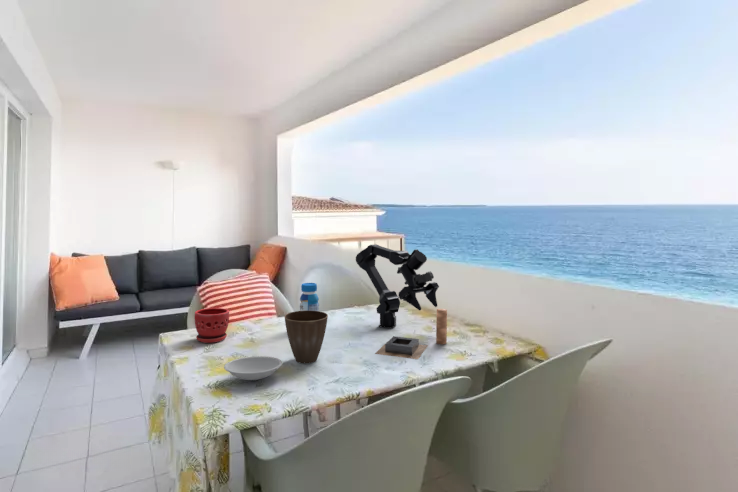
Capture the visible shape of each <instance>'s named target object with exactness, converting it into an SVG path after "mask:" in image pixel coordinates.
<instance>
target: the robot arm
mask: <svg viewBox="0 0 738 492" xmlns="http://www.w3.org/2000/svg"><path fill="white" fill-rule="evenodd" d="M378 256H379V257H382V258H383V259H384V258H385V259H387V260H388V261H389V262H390V263H391V264H392V265H395V266H399V267H397V271H396V274H399V275H400V274H401V275H402V277H403V278H404V281H405V282H404V285H406V286H404V287H402V288H401V290H399V292H398V294H397V292H396V291H395V290H392V291H391V290H390V289H389V288H388V286H387V284H386V283H385V281H384V278H383V277H382V275H381V274H380V272H379V271H378V268H377V266H376V258H378ZM427 259H428V257H427V256H426V254H424V253H423V252H422V251H420V250H419V249H414V250H412V252H411V253H409V252H408V250H394V249H390V248H387V247H385V246H382V245H379V244H376V243H375V244H370V245H367V247H366V248H364V249H363V250H361V251H360V252H358V253H357V254H356V256H355V263H356V265H358V267H359V268H361V269H362V270H363V271H365V272H366V274H367V275H368V277H369V279H370V281H371V283H372V285H373V287H374V288H375V290H376V292H377V293H378V297H379V300H378V303H379V304H378V306H377V307H376V308H375V309H376V313H377V314H379V325H378V328H385V329H386V328H387V329H393V328H394V327H396V326H397V315H396V313H399V310H400V306H401V305H400V304H401V301H400V300H403V302H406V303H408V304H409V305H411V306H413V307H414V308H415V309H417V310H418V311H421V310H422V307H421V304H420V302H419V300H418V299H417V296H416V295H417V294H418V293H419V294H420V293H423V294H424V295H425V297H426V298H427V300H428V301H429V302H430V303H431V304H432V306H433V307H435V308H437V307H438V301H437V296H436V292H437V290H438V289H439V288H440V285H439V284H438V282H437V281H436V282H435V281H433V279H434V274H433V272H432V271H426V272H425V273H423V274H420V273H417V271H418V270H419V269H420V268H421V267H422V266H423V265H424V264H425V263H426V262H427V261H428V260H427ZM432 281H433V282H432ZM428 282H429V283H428ZM407 285H408V286H407Z"/></svg>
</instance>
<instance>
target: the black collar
mask: <svg viewBox="0 0 738 492" xmlns="http://www.w3.org/2000/svg"><path fill="white" fill-rule="evenodd" d="M419 341H420V338H412V337H404V336H403V337H402V336H396V335H395V336H394V335H393V336H392V337H391V338H390V339H389V340H388V341H386V343H384V344H385V352H389V353H397V354H405V355H413V353H414V352H415V351H416V350H417V348H418V347H419V344H420V342H419Z"/></svg>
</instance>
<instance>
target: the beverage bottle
mask: <svg viewBox="0 0 738 492" xmlns="http://www.w3.org/2000/svg"><path fill="white" fill-rule="evenodd" d="M300 285H301V286H300V287H301V293H302V294H301V295H300V298H299V301H300V303H299V311H307V310H310V311H320V308H319V307H320V303H319V299H320V298H319V295H318V294H317V293H316V292H317V291H318V290H317V289H318V285H317V283H315V282H305V283H301V284H300Z"/></svg>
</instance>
